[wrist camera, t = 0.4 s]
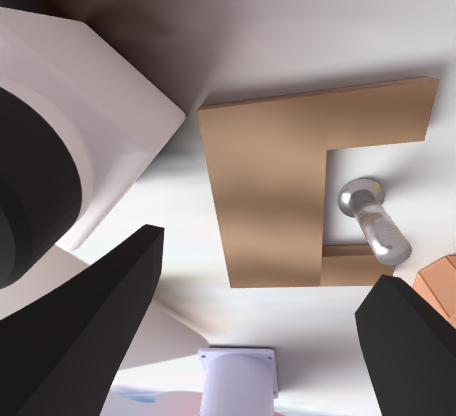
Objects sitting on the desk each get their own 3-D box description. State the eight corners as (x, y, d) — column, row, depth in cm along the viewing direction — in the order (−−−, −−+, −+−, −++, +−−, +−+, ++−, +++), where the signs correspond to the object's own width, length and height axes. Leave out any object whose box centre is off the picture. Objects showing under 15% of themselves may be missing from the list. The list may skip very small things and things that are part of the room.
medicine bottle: (83, 18, 14) (-360, -71, 4) (189, 114, 16) (85, 223, 6) (31, 121, 17) (-300, 226, 7) (127, 191, 19) (-15, 355, 9)
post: (379, 214, 19) (418, 273, 14) (336, 216, 19) (360, 274, 14) (385, 176, 17) (432, 228, 12) (338, 180, 18) (367, 231, 13)
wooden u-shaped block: (384, 273, 21) (390, 285, 20) (232, 277, 23) (230, 288, 22) (425, 76, 14) (438, 79, 13) (200, 106, 16) (196, 110, 15)
